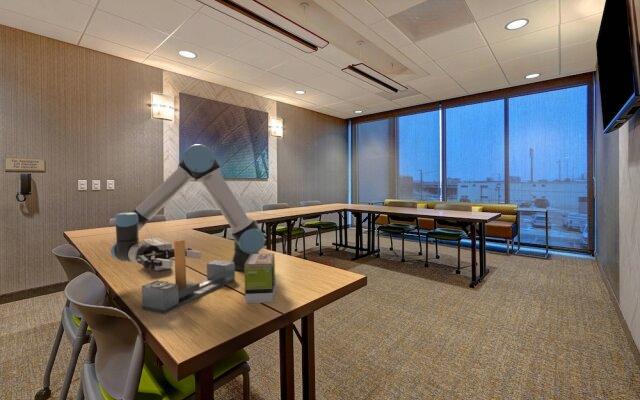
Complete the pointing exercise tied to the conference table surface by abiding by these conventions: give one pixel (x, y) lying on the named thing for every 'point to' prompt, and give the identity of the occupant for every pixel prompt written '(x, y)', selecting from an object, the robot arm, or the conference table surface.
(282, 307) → the conference table surface
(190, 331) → the conference table surface
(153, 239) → the stereo radio cassette player
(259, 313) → the conference table surface
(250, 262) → the tea box
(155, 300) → the rail
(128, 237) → the robot arm
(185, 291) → the carriage
